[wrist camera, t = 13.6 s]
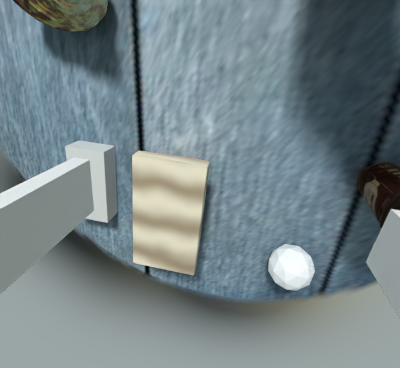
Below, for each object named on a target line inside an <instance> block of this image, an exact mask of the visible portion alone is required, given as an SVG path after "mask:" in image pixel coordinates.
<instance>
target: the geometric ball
mask: <svg viewBox="0 0 400 368" xmlns="http://www.w3.org/2000/svg"><path fill="white" fill-rule="evenodd" d="M268 271H269V273H270V275H271V276H272V278H273V280H274V282H275V283H277V284H278V285H280V286H281V287H283V288H285V289H287V290H296V291H297V290H299V289H301V288H303V287H305V286H308V285H309V284H310V282H311V280H312V277H313V275H314V272H315V270H314V264H313V261H312V259H311V256H310V255H308V254H307V253H306V252H305V251H304V250H303V249H302V248H300V247H299V246H294V245H288V244H284V245H282V246H280V247H279V248H277V249H275V250H273V252H272V254H271V256H270V258H269V262H268Z"/></svg>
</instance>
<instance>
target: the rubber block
mask: <svg viewBox="0 0 400 368" xmlns="http://www.w3.org/2000/svg"><path fill="white" fill-rule="evenodd" d="M65 149H66V158H67V161H68V160H70V159H72V158H74V157H76V158H82V159H88V160H90V170H91V181H92V193H93V204H94V211H93V212H92V213H91V214H90V215H89V216H87V217H86V218H85V219H90V220H95V221H100V222H106V223H108V222H109V221H110V220H111V219H112V218H113V217H114V216H115V215H116V213H117V186H116V159H115V146H111V145H105V144H98V143H92V142H86V141H77V142H74V143H72V144H69V145H67V146H65Z"/></svg>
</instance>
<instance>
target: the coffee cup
mask: <svg viewBox="0 0 400 368" xmlns="http://www.w3.org/2000/svg"><path fill="white" fill-rule="evenodd" d="M358 188H359V191H360V192H361V194H362V195H363V196H364V199H365V201H366V203H367V204H368V206H369V207H370V209H371V210H372V212H373V214H374V215H375V217H376V218H377V220H378V221H379V223H380V228H381V229H382V227H383V224H384V222H385V220H386V218H387V216H388V214H389V212H390V210H391V209H394V210H400V168H399V166H397V165H395V164H392V163H377V164H373V165H371V166H369V167H367V168H365V169H364V170H363V172H362V173H361V174H360V176H359V178H358Z"/></svg>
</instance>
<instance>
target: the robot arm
mask: <svg viewBox="0 0 400 368" xmlns="http://www.w3.org/2000/svg"><path fill="white" fill-rule="evenodd" d="M93 211H94V204H93V193H92V181H91V170H90V160H88V159H82V158H76V157H74V158H72V159H70V160H68V161H66V162H64V163H62V164H60V165H58V166H56V167H54V168H52V169H49V170H47V171H45V172H43V173H41V174H39V175H37V176H35V177H33V178H31V179H29V180H27V181H25V182H23V183H21V184H19V185H17V186H15V187H13V188H11V189H9V190H7V191H5V192H3V193H0V294H1V293H2V292H3V291H5V290H6V289H7V288H8V287H9V286H10V285H11V284H12V283H13V282H14V281H16V280H17V279H18V278H19V277H20V276H21V275H22V274H24V273H25V272H26V271H27V270H28V269H29V268H30V267H31V266H33V265H34V264H35V263H36V262H37V261H38V260H39V259H40V258H41V257H43V256H44V255H45V254H46V253H47V252H48V251H49V250H50V249H52V248H53V247H54V246H55V245H56V244H57V243H58V242H59V241H61V240H62V239H63V238H64V237H65V236H66V235H67V234H68V233H69V232H70V231H72V230H73V229H74V228H75V227H76V226H77V225H78V224H80V223H81V222H82V221H83V220H84V219H85V218H86V217H87V216H89V215H90V214H91V213H92V212H93ZM366 263H367V265H368V267H369V268H370V270H371V271H372V273H373V275H374V276H375V278H376V280H377V281H378V283H379V285H380V286H381V288H382V290H383V291H384V293H385V295H386V296H387V298H388V300H389V301H390V303H391V304H392V306H393V308H394V309H395V311H396V313H397V314H398V316H399V318H400V210H394V209H391V210H390V212H389V214H388V216H387V218H386V220H385V222H384V224H383V227H382V229H381V231H380V233H379V235H378V237H377V239H376V241H375V243H374V245H373V248H372V250H371V252H370V254H369V256H368V258H367V260H366Z"/></svg>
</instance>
